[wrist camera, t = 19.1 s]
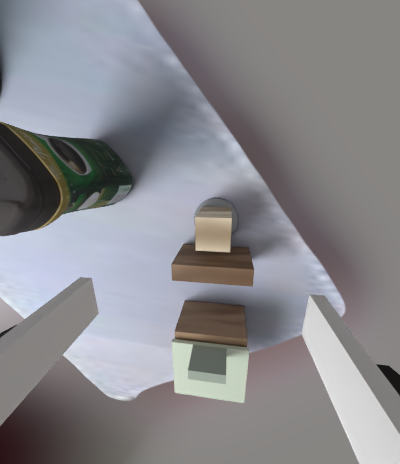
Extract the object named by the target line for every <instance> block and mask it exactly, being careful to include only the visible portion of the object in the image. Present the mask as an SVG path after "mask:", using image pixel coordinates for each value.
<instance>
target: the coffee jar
mask: <svg viewBox="0 0 400 464" xmlns="http://www.w3.org/2000/svg"><path fill="white" fill-rule="evenodd" d="M131 187H132V177H131V174H130V172H129V171H128V169H127V168H126V166H125V165H124V163H123V162H122V161H121V159H120V158H119V157H118V156H117V155H116V153H115V152H114V151H113V150H112V149H111V148H110V147H109V146H108V145H107V144H105V143H104V142H102V141H99V140H95V139H85V138H67V137H56V136H47V135H41V134H36V133H32V132H29V131H26V130H23V129H20V128H17V127H14V126H12V125H9V124H6V123H3V122H0V236H8V235H15V234H18V233H21V232H27V231H32V230H37V229H40V228H43V227H45V226H47V225H49V224H50V223H52V222H53V221H55V220H56V219H57V218H59V217H60V216H61V215H62V214H66V213H69V212H74V211H79V210H85V209H91V208H98V207H105V206H109V205H113V204H115V203H117V202H119V201H120V200H121V199H123V198H124V197H125V196H126V195H127V194H128V192H129V191H130V189H131Z"/></svg>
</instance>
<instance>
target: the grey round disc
mask: <svg viewBox="0 0 400 464" xmlns="http://www.w3.org/2000/svg"><path fill="white" fill-rule="evenodd" d="M202 207H231V213H232V225H231V235H232V234H233V233H234V232H235V230H236V228H237V225H238V216H237V212H236V210H235V208H234V207H233V206H232V205H231V204H230V203H229V202H227V201H226V200H223V199H218V198H213V199H209V200H207V201H205V202H203V203H202V204H201V205H200V206H199V207H198V209H197V210H196V212H195V216H194V223H195V217H196V215H197V214H198V212H199V211H200V209H201V208H202Z"/></svg>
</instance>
